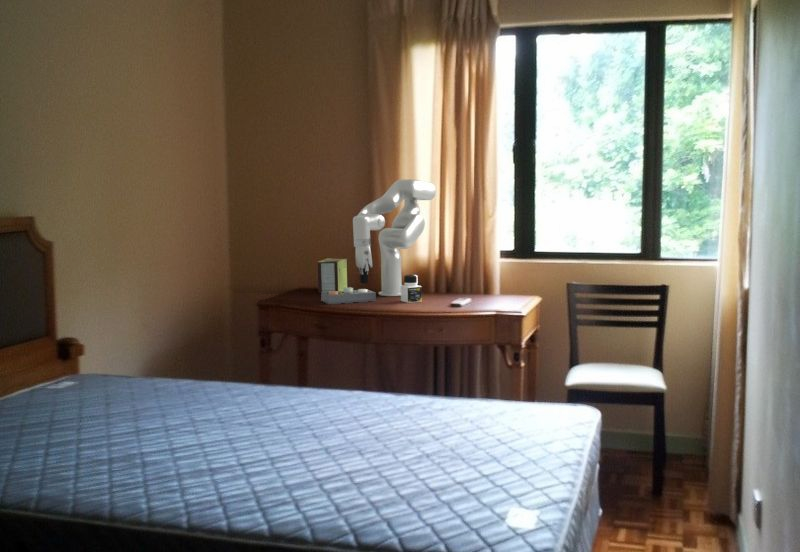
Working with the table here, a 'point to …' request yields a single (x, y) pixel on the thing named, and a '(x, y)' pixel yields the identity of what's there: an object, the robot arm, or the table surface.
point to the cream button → (362, 290)
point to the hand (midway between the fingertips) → (364, 282)
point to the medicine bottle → (411, 289)
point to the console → (348, 297)
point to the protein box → (332, 275)
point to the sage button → (348, 290)
